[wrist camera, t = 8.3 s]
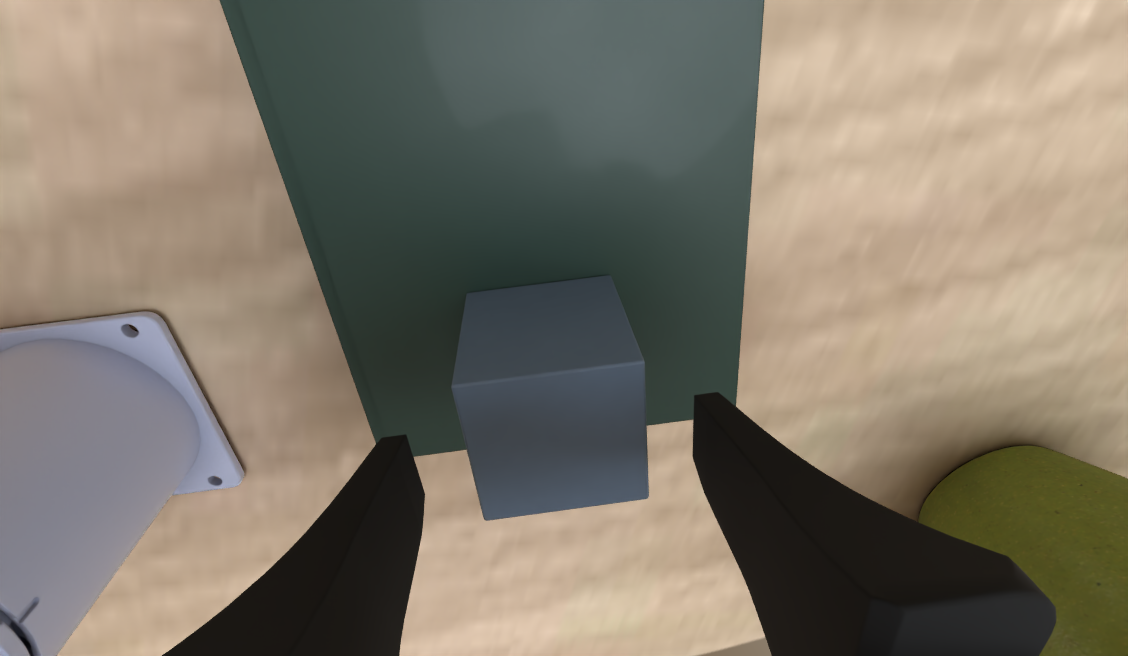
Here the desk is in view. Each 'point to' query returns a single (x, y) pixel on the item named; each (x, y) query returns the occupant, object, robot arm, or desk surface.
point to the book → (513, 176)
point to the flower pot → (1049, 536)
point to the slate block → (551, 398)
